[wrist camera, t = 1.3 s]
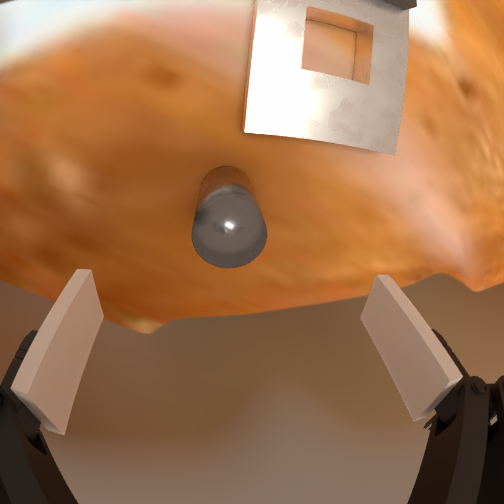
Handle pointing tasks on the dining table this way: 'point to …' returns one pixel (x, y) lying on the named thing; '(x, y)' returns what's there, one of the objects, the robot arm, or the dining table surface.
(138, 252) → the dining table surface
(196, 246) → the dark steel cylinder
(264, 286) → the dining table surface
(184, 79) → the dining table surface
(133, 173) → the dining table surface
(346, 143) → the block
